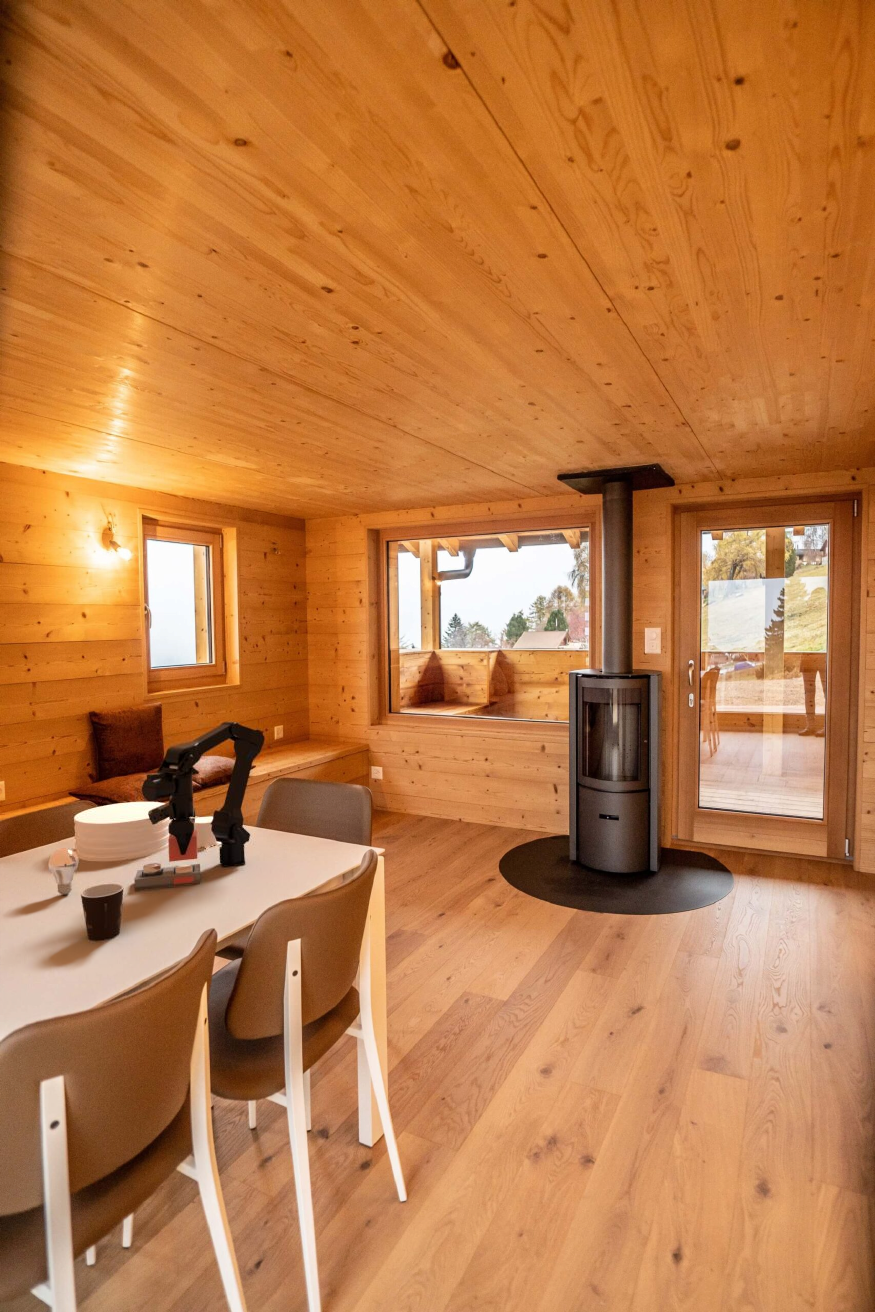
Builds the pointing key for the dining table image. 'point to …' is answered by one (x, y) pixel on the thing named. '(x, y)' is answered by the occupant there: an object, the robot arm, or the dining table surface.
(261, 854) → the dining table surface
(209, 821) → the tree stump
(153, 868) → the chrome round knob
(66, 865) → the light bulb
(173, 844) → the cap
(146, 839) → the plate stack
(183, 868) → the cream switch
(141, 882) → the switch box
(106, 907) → the coffee mug
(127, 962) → the dining table surface
